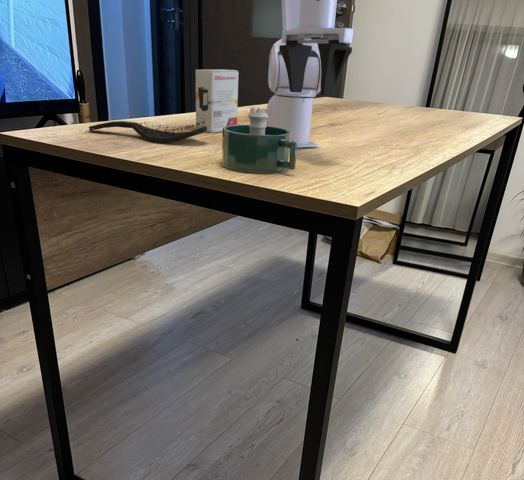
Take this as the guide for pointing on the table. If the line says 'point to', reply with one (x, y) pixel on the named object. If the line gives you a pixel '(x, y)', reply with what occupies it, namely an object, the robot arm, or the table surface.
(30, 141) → the table surface
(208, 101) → the ink box
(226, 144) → the green coffee mug
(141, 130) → the hairbrush
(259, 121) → the rook chess piece
